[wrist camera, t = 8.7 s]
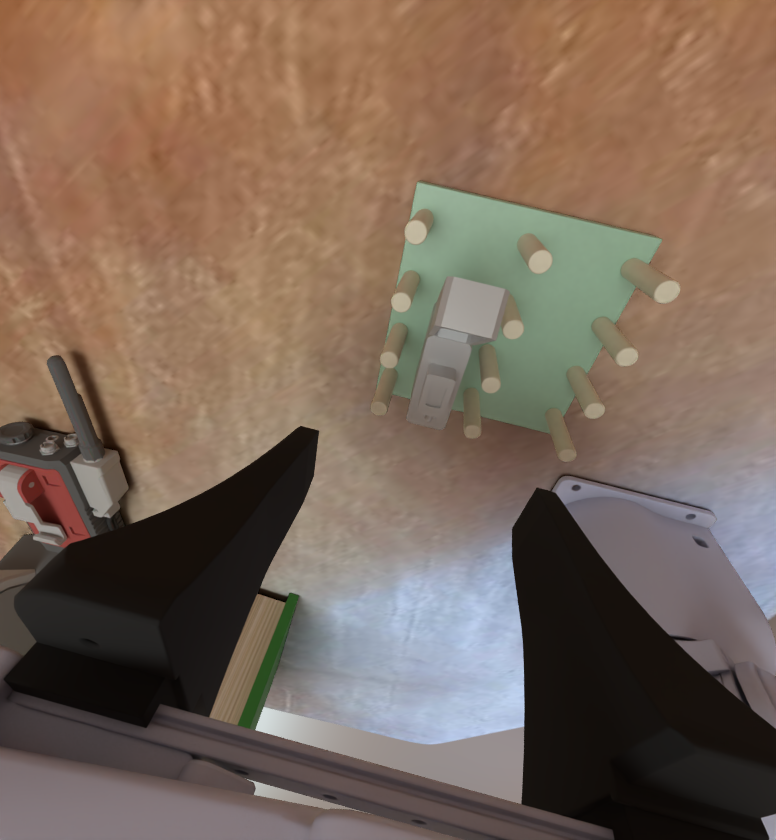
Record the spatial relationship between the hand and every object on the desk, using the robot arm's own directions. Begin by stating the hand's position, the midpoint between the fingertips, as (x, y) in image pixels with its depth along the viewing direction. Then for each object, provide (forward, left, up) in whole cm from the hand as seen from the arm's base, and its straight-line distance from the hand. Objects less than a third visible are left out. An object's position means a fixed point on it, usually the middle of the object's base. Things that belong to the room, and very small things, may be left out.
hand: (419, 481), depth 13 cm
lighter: (0, -3, -9) cm, 9 cm away
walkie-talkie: (+25, +15, -10) cm, 31 cm away
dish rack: (-2, -3, -10) cm, 10 cm away
